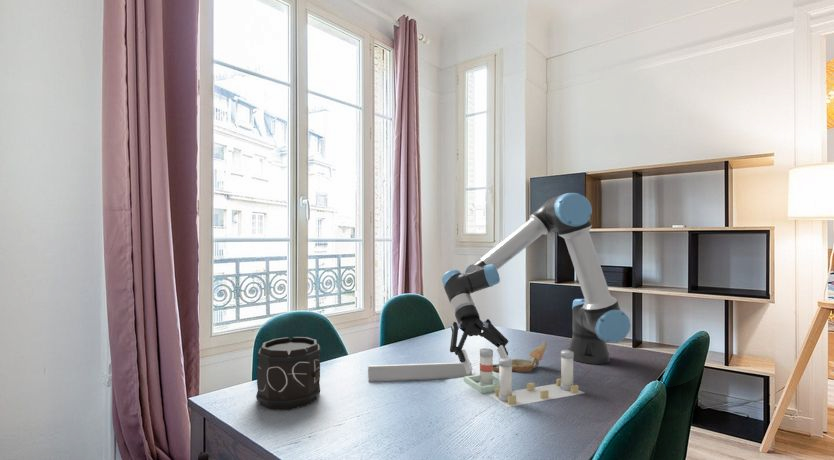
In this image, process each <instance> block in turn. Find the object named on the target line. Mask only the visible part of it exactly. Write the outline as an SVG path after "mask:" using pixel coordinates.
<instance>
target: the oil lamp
mask: <svg viewBox="0 0 834 460" xmlns="http://www.w3.org/2000/svg"><path fill="white" fill-rule="evenodd" d="M546 348H547V342H546V341H545V342H543V343H541V344H540V345H538V346H537V347H535V349H533V350H531V351H530V352H529V354H528V355H529V356H530V357H531V358H530V359H521V358H515V359H514V358H513V359H512V358H511V359H512V372H519V373H520V372H522V373H526V372H531V371H532V370H533V369H534V368H538V367H539V363H540V361H542V359H543V358H544V355H545V352H546V350H547V349H546ZM493 372H494V373H499V363H497V364H493Z"/></svg>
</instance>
